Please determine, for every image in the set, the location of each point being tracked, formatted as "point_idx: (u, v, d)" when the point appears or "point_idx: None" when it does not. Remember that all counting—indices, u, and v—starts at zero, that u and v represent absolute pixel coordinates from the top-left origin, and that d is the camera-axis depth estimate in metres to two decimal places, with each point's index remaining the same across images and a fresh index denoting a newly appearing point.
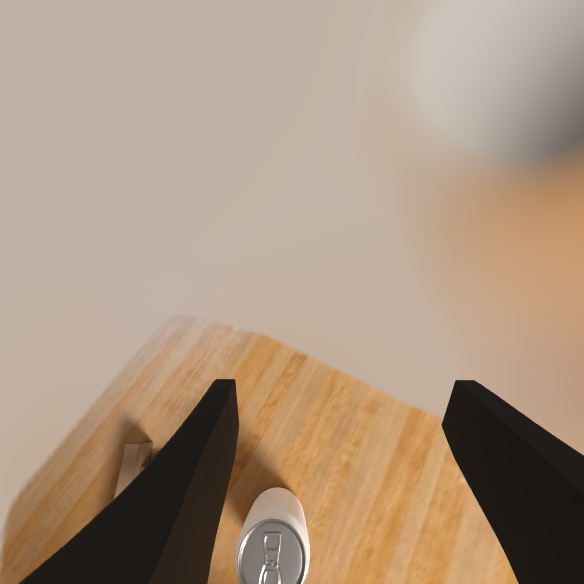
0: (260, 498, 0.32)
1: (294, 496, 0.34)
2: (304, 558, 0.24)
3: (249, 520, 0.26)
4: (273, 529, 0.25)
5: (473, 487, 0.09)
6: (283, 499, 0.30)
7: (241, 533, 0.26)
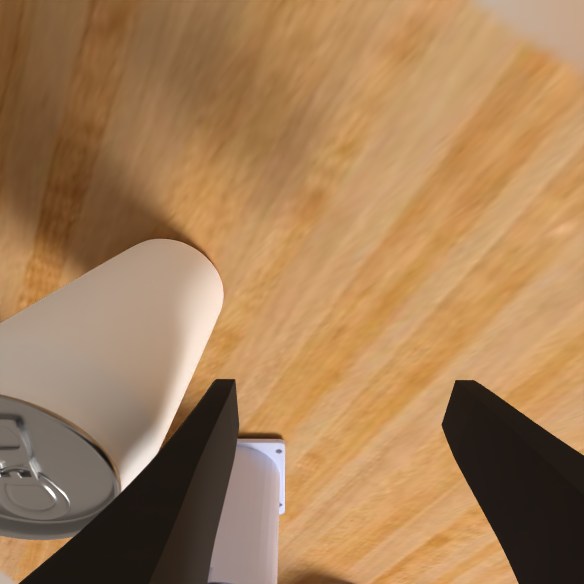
0: None
1: (194, 257, 0.16)
2: None
3: None
4: None
5: (472, 487, 0.09)
6: (120, 281, 0.11)
7: None
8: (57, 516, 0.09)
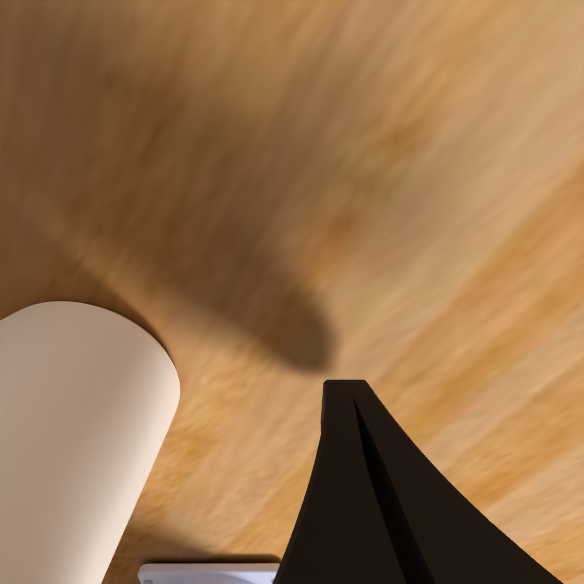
0: None
1: (113, 341, 0.09)
2: None
3: None
4: None
5: None
6: None
7: None
8: None
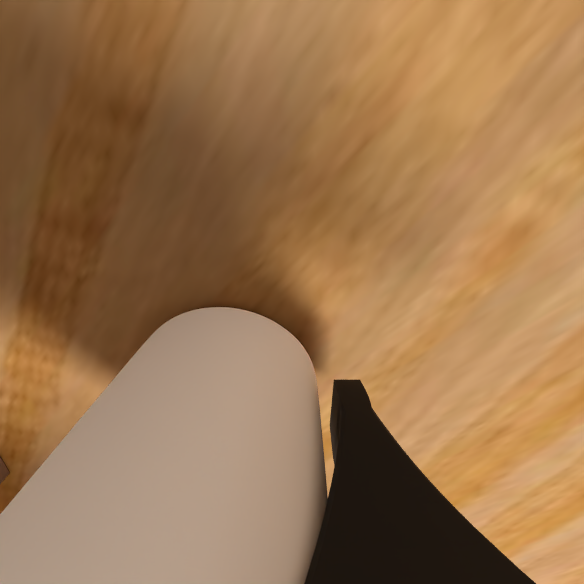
0: (99, 403, 0.06)
1: (279, 345, 0.09)
2: None
3: None
4: None
5: None
6: (161, 523, 0.04)
7: None
8: None
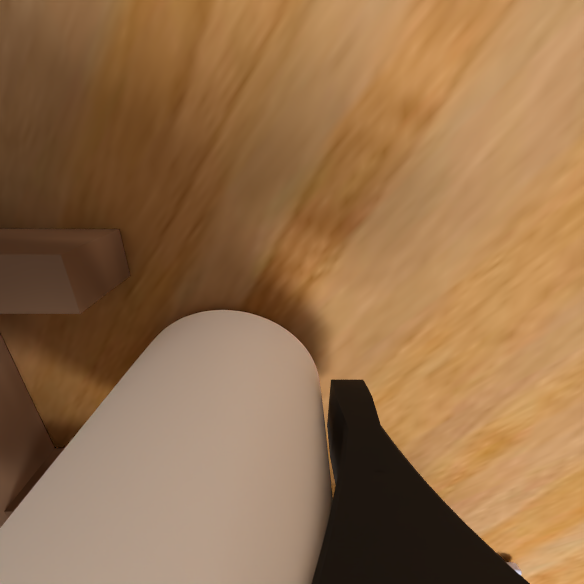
0: (103, 408, 0.06)
1: (281, 346, 0.09)
2: None
3: None
4: None
5: None
6: (166, 526, 0.04)
7: None
8: None
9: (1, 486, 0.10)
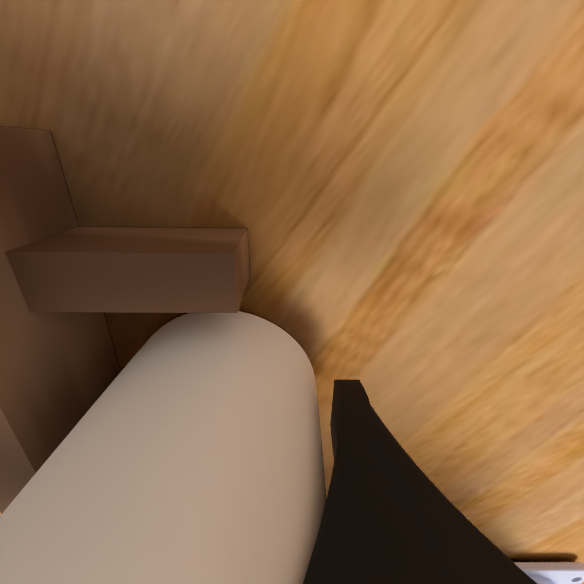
0: (96, 407, 0.06)
1: (277, 346, 0.09)
2: None
3: None
4: None
5: None
6: (156, 526, 0.04)
7: None
8: None
9: None
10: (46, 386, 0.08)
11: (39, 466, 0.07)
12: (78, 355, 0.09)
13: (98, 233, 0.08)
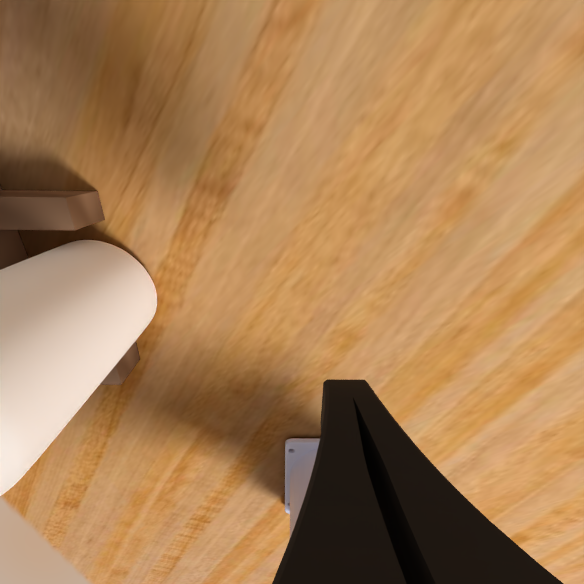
0: None
1: (114, 257, 0.16)
2: None
3: None
4: None
5: None
6: (3, 284, 0.11)
7: None
8: None
9: None
10: None
11: None
12: (2, 262, 0.16)
13: (9, 192, 0.15)
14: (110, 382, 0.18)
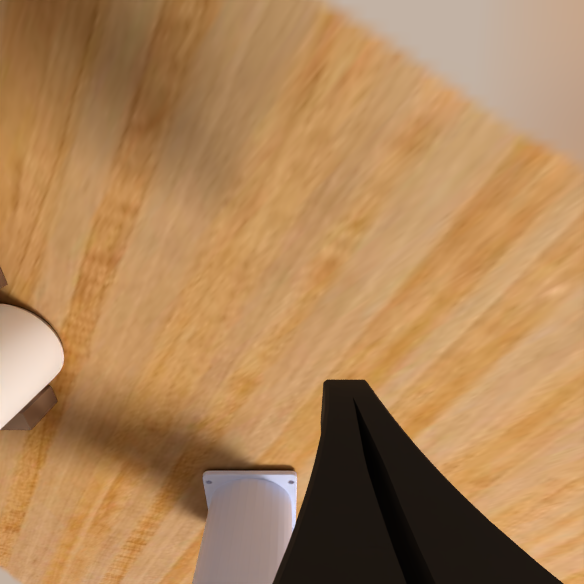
0: None
1: (12, 321, 0.17)
2: None
3: None
4: None
5: None
6: None
7: None
8: None
9: None
10: None
11: None
12: None
13: None
14: (20, 428, 0.20)
